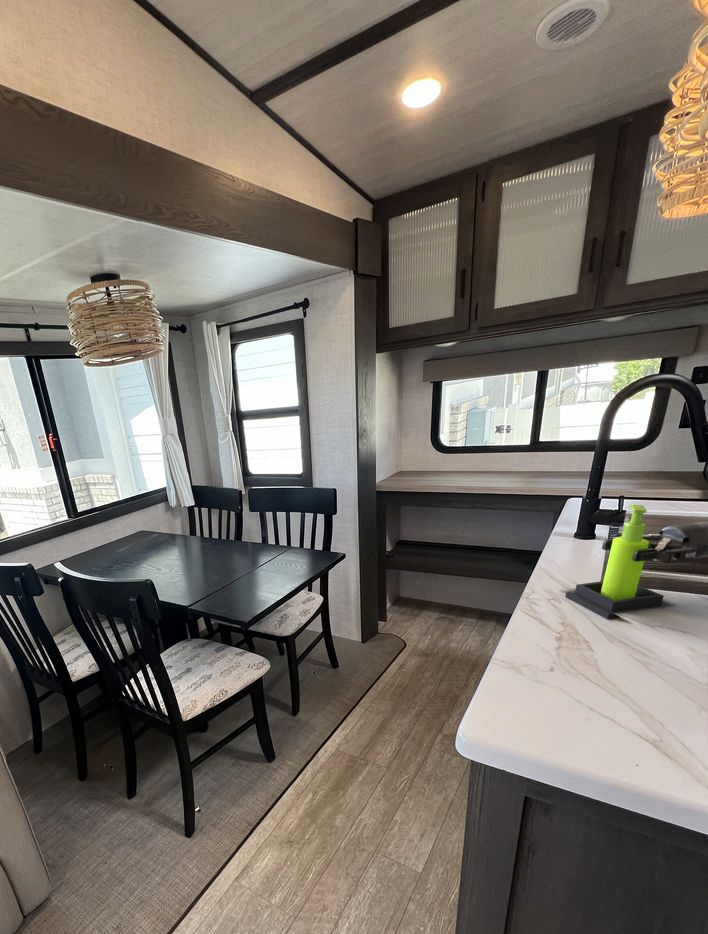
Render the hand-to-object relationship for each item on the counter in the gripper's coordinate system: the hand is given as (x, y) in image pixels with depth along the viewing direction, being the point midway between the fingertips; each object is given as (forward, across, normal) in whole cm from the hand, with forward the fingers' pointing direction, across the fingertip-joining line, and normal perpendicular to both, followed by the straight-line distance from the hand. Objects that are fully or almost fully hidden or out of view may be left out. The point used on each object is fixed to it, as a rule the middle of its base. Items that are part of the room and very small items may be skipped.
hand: (618, 550), depth 96 cm
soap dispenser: (-2, 0, +11) cm, 12 cm away
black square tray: (-2, 0, +12) cm, 13 cm away
